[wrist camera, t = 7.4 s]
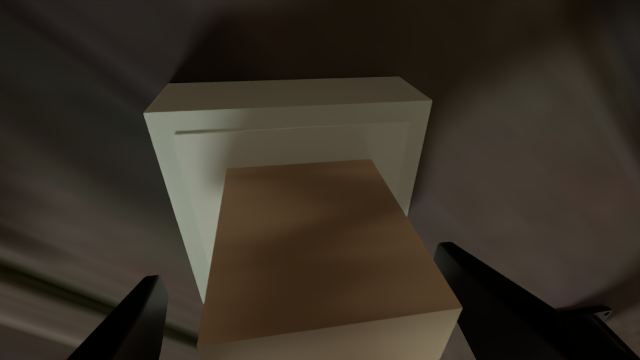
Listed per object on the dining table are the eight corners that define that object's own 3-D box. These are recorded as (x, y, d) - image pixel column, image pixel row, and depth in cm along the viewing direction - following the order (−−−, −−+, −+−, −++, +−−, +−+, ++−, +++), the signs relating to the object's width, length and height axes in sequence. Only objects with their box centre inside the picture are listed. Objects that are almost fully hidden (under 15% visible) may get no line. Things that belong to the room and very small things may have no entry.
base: (398, 76, 13) (433, 101, 10) (374, 236, 18) (394, 280, 15) (168, 83, 11) (141, 113, 9) (211, 254, 16) (202, 305, 14)
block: (370, 158, 11) (462, 307, 6) (358, 257, 14) (415, 414, 9) (227, 168, 10) (196, 346, 5) (244, 270, 13) (235, 450, 8)
